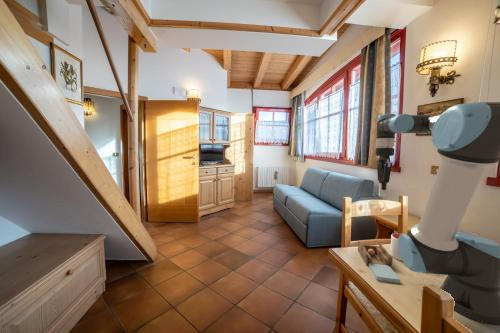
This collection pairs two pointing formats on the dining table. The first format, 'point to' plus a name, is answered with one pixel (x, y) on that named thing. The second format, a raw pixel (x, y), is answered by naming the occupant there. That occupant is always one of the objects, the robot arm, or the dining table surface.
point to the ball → (371, 252)
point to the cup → (395, 246)
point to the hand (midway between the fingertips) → (382, 196)
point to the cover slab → (384, 273)
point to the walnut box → (375, 255)
